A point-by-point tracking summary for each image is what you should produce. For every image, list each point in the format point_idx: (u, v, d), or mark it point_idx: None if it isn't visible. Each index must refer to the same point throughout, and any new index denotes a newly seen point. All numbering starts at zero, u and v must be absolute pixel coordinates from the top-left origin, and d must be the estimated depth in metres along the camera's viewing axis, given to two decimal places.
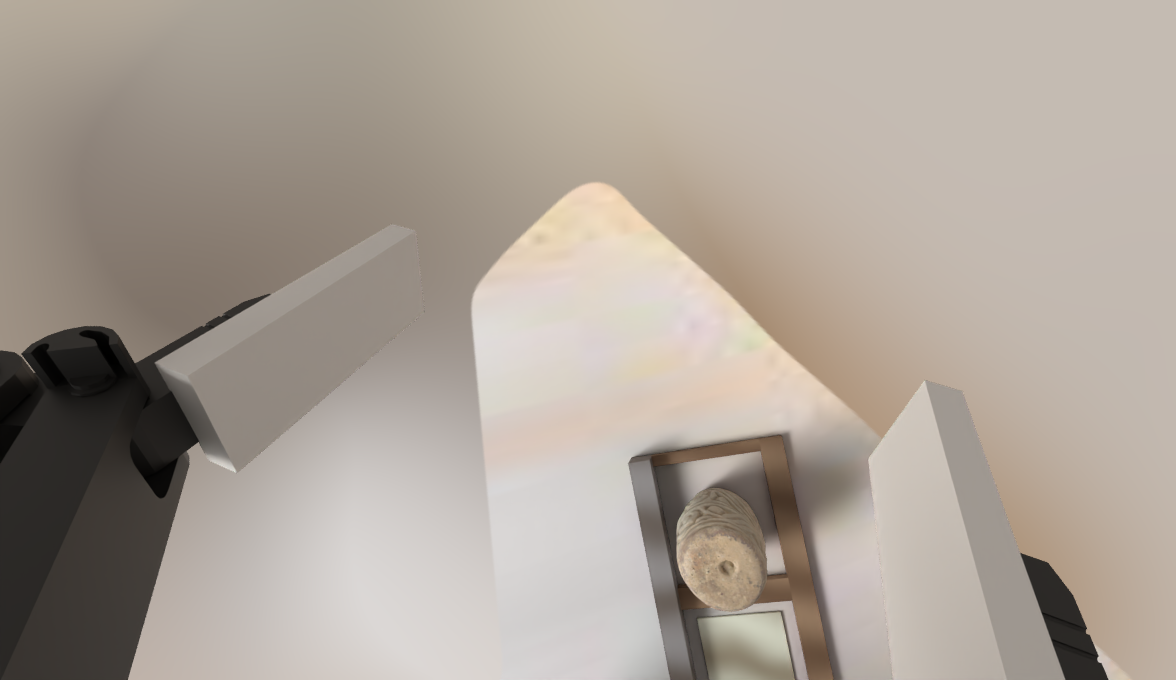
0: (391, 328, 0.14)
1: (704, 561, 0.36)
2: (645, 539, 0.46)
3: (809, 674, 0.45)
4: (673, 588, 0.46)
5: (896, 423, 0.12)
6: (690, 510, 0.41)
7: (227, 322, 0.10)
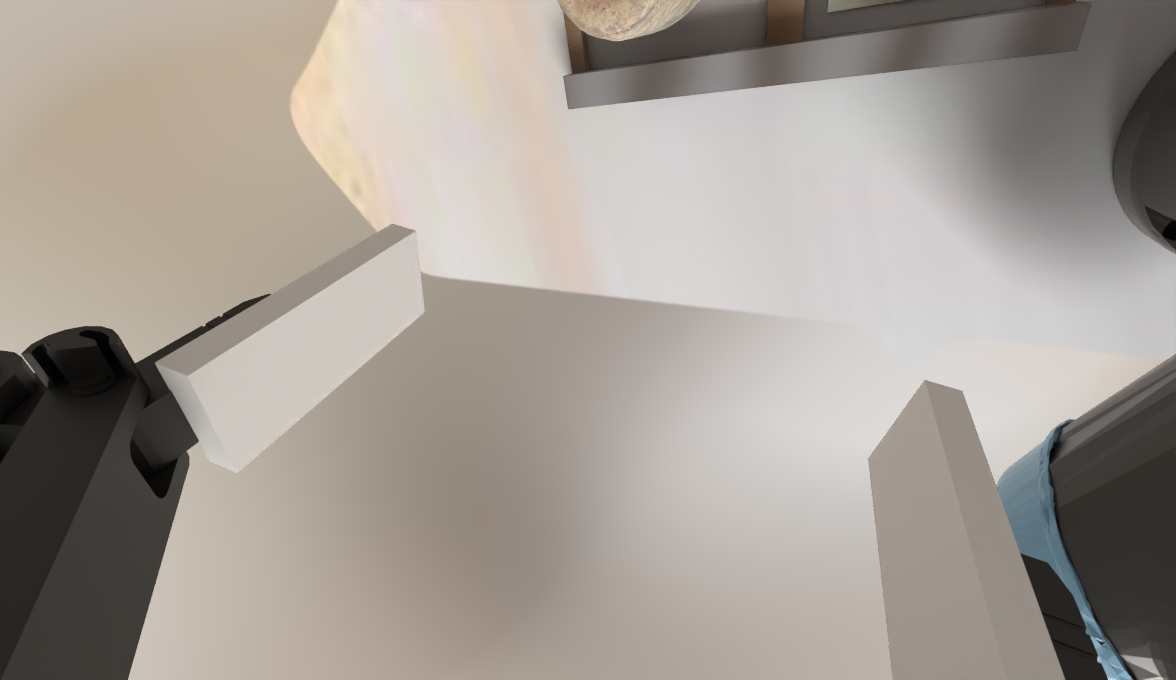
0: (391, 328, 0.14)
1: None
2: (671, 93, 0.31)
3: None
4: (749, 52, 0.29)
5: (896, 423, 0.12)
6: None
7: (227, 323, 0.10)
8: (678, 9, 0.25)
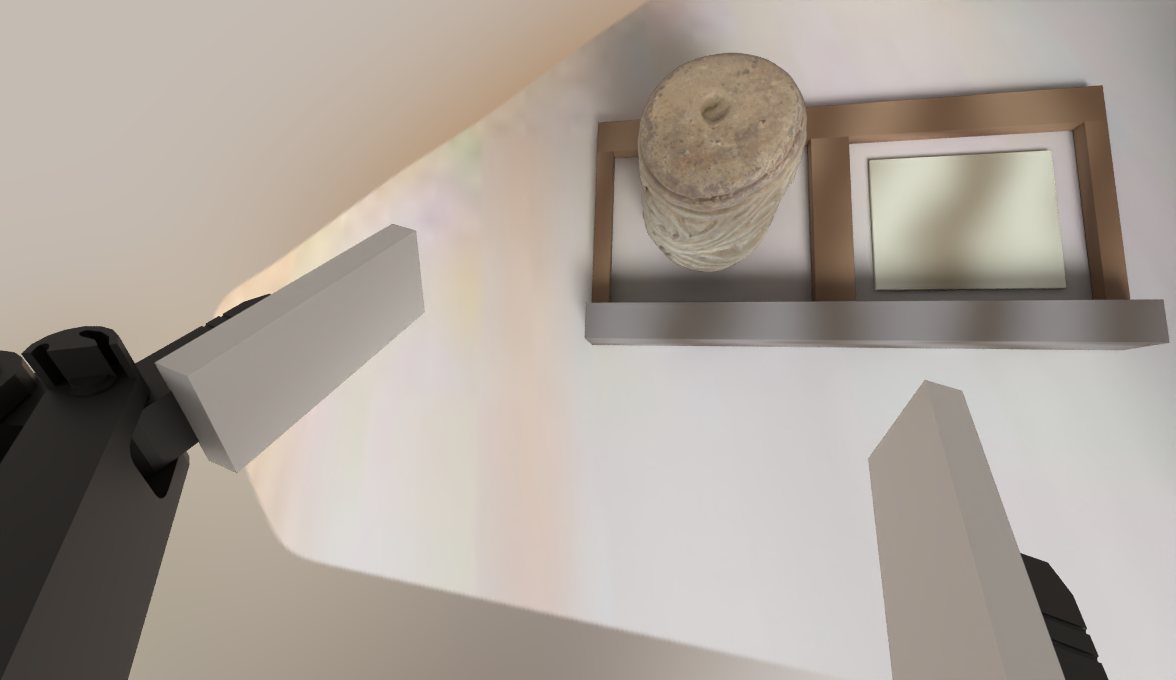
0: (391, 328, 0.14)
1: (696, 145, 0.19)
2: (716, 335, 0.27)
3: (977, 126, 0.27)
4: (808, 303, 0.26)
5: (896, 423, 0.12)
6: (648, 218, 0.24)
7: (227, 322, 0.10)
8: (754, 227, 0.23)
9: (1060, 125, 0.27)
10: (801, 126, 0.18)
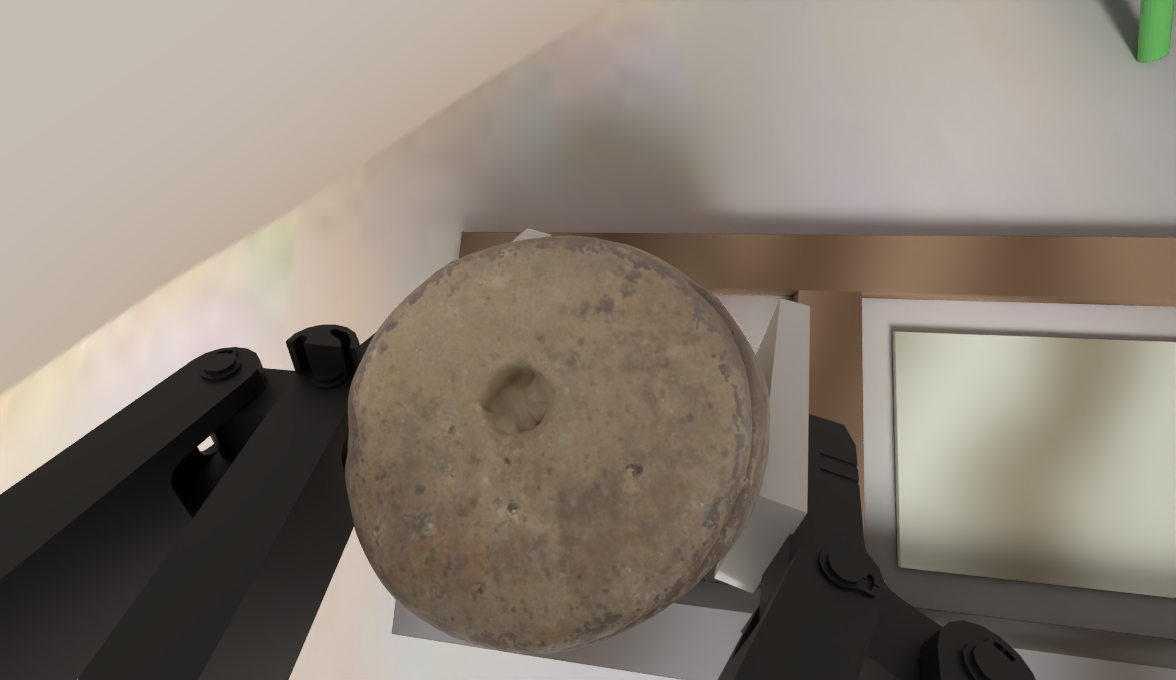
0: None
1: (455, 509, 0.07)
2: (614, 660, 0.15)
3: (1085, 294, 0.16)
4: None
5: (764, 340, 0.14)
6: None
7: None
8: None
9: None
10: (748, 475, 0.07)
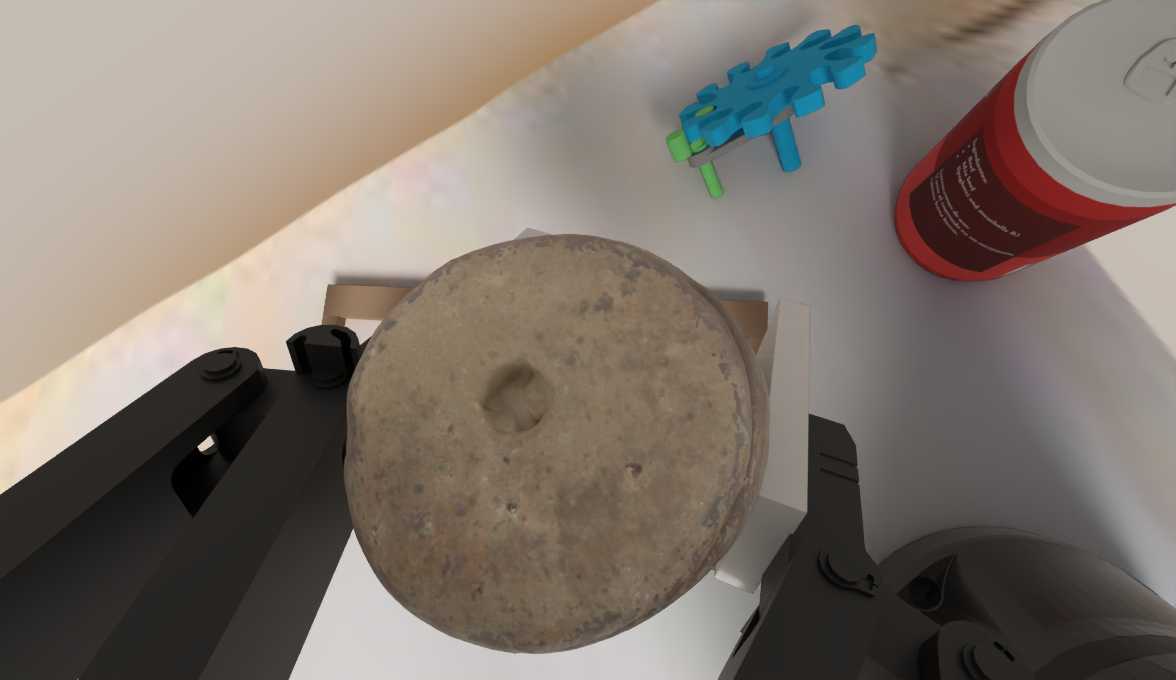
0: None
1: (454, 508, 0.07)
2: None
3: None
4: None
5: (764, 340, 0.14)
6: None
7: None
8: None
9: None
10: (748, 474, 0.07)
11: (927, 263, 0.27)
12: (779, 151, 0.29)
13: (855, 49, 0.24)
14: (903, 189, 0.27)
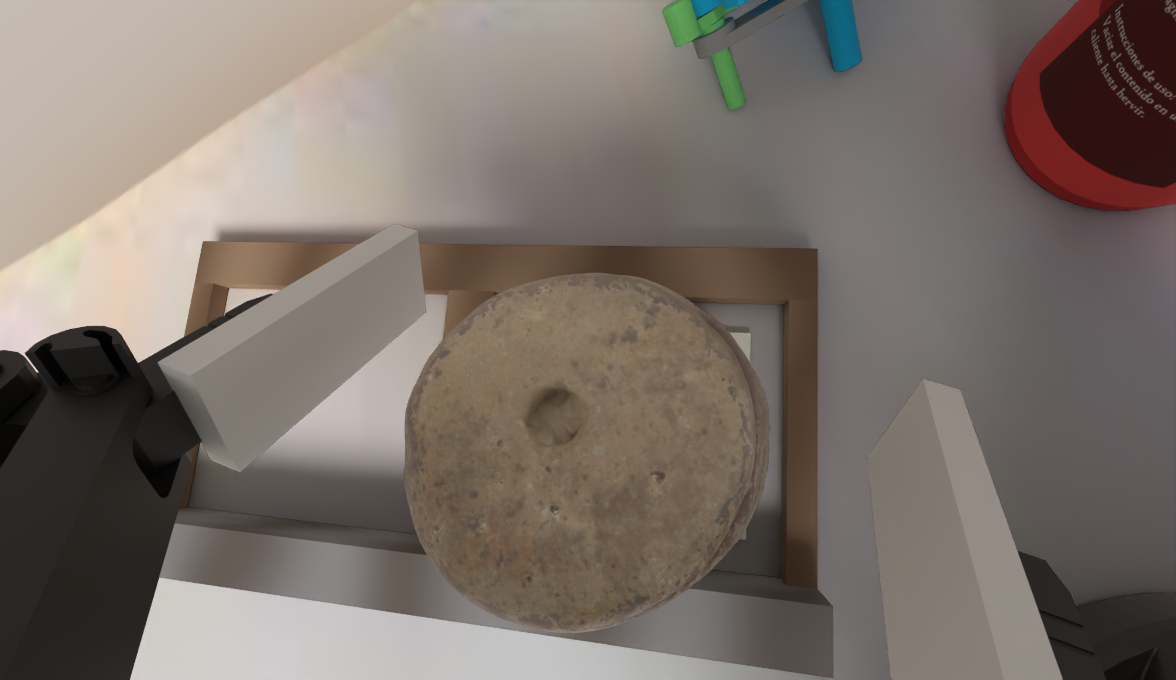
0: (393, 328, 0.14)
1: (504, 510, 0.08)
2: (254, 585, 0.18)
3: None
4: (375, 552, 0.18)
5: (894, 422, 0.12)
6: None
7: (229, 322, 0.10)
8: None
9: (762, 300, 0.19)
10: (752, 479, 0.08)
11: (1065, 183, 0.18)
12: (830, 37, 0.20)
13: None
14: (1023, 74, 0.18)
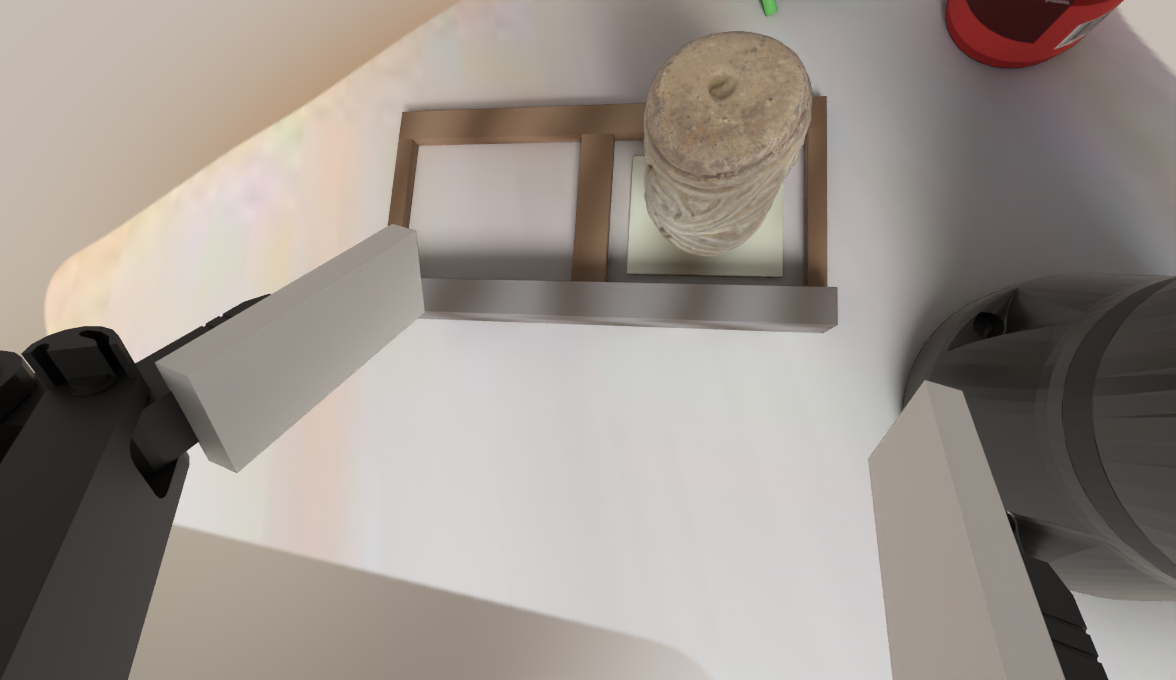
0: (391, 328, 0.14)
1: (702, 121, 0.19)
2: (471, 309, 0.29)
3: None
4: (551, 283, 0.29)
5: (896, 423, 0.12)
6: (650, 198, 0.24)
7: (227, 322, 0.10)
8: (755, 209, 0.23)
9: None
10: (807, 106, 0.19)
11: (980, 48, 0.28)
12: None
13: None
14: None
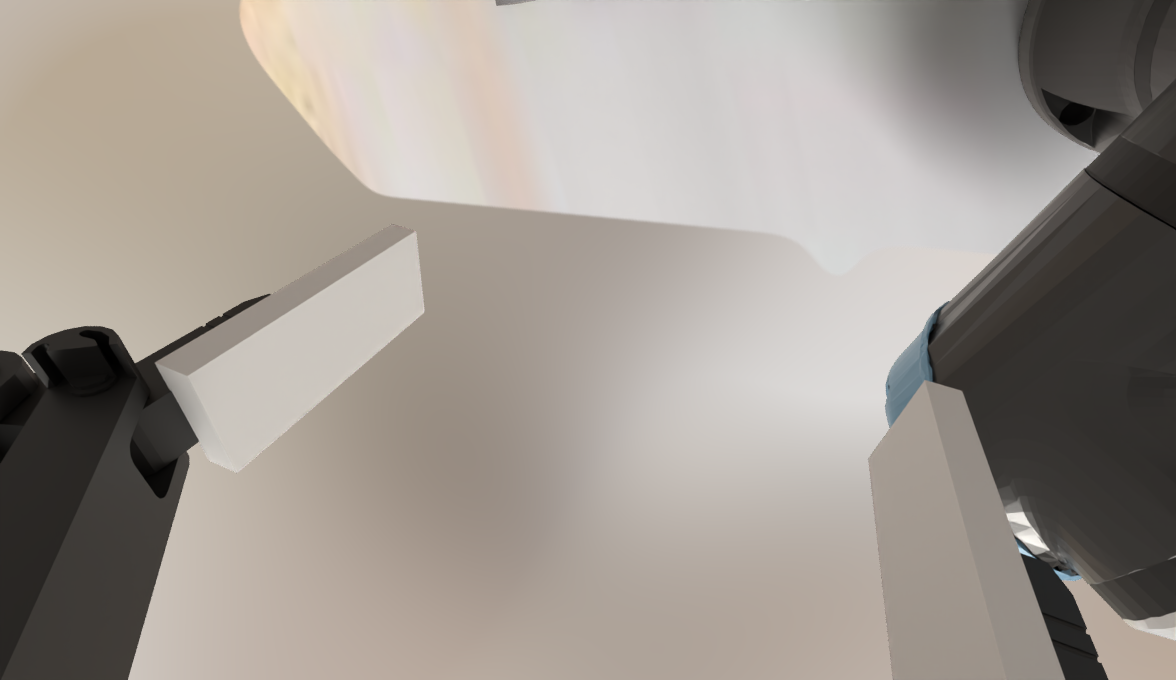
0: (391, 328, 0.14)
1: None
2: None
3: None
4: None
5: (896, 423, 0.12)
6: None
7: (227, 322, 0.10)
8: None
9: None
10: None
11: None
12: None
13: None
14: None
